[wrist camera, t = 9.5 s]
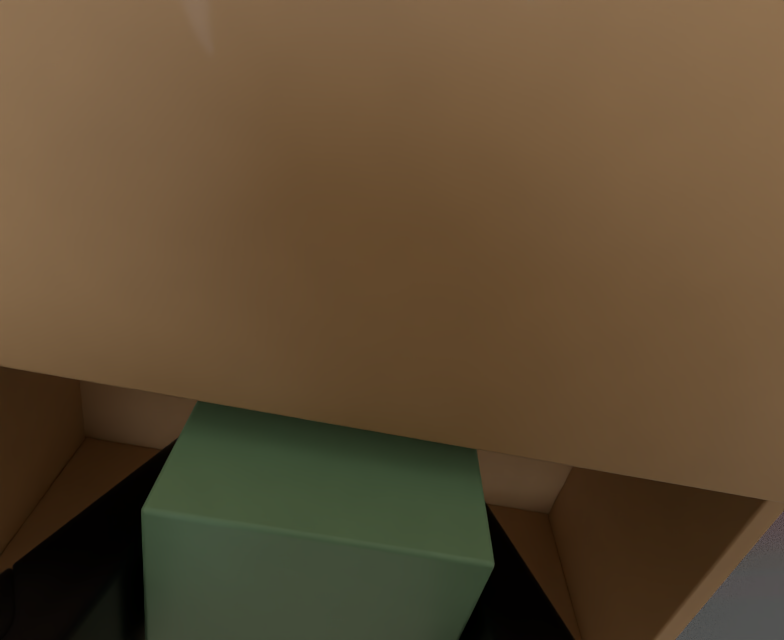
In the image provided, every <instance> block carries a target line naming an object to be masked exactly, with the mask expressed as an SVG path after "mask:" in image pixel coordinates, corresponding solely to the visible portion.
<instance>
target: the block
mask: <svg viewBox="0 0 784 640" xmlns="http://www.w3.org/2000/svg"><path fill="white" fill-rule="evenodd" d="M141 521H142V552H143V583H144V614H145V640H459V638H460V636H461V634H462V632H463V630H464V628H465V626H466V624H467V622H468V620H469V618H470V616H471V614H472V612H473V609H474V607H475V605H476V603H477V601H478V599H479V597H480V595H481V593H482V591H483V589H484V587H485V585H486V583H487V581H488V579H489V576H490V574H491V572H492V570H493V568H494V565H495V563H494V557H493V550H492V544H491V537H490V531H489V525H488V518H487V512H486V506H485V499H484V493H483V487H482V480H481V474H480V468H479V461H478V455H477V449H471V448H465V447H460V446H454V445H448V444H442V443H437V442H431V441H425V440H420V439H414V438H408V437H402V436H397V435H391V434H385V433H379V432H374V431H368V430H362V429H357V428H351V427H345V426H339V425H334V424H328V423H322V422H316V421H311V420H305V419H299V418H294V417H288V416H282V415H276V414H271V413H265V412H259V411H253V410H248V409H242V408H236V407H230V406H225V405H219V404H213V403H208V402H202V401H197V402H196V404H195V406H194V408H193V410H192V412H191V414H190V416H189V418H188V420H187V422H186V424H185V426H184V427H183V429H182V431H181V433H180V435H179V437H178V439H177V441H176V443H175V445H174V447H173V449H172V451H171V453H170V455H169V456H168V458H167V460H166V462H165V464H164V466H163V468H162V470H161V472H160V474H159V476H158V478H157V480H156V482H155V484H154V486H153V487H152V489H151V491H150V493H149V495H148V497H147V499H146V501H145V503H144V505H143V507H142V509H141Z"/></svg>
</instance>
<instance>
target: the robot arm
mask: <svg viewBox="0 0 784 640" xmlns="http://www.w3.org/2000/svg"><path fill="white" fill-rule="evenodd" d="M177 439H178V438H176V439H175V440H174V441H173V442H171V443H170V444H169V445H167V446H166V447H165V448H163V449H162V450H161V451H160V452H158V453H157V454H156V455H154V456H153V457H152V458H150V459H149V460H148V461H147V462H145V463H144V464H143V465H141V466H140V467H139V468H137V469H136V470H135V471H134V472H132V473H131V474H130V475H128V476H127V477H126V478H124V479H123V480H122V481H120V482H119V483H118V484H117V485H115V486H114V487H113V488H111V489H110V490H109V491H107V492H106V493H105V494H104V495H102V496H101V497H100V498H98V499H97V500H96V501H94V502H93V503H92V504H91V505H89V506H88V507H87V508H85V509H84V510H83V511H81V512H80V513H79V514H78V515H76V516H75V517H74V518H72V519H71V520H70V521H68V522H67V523H66V524H65V525H63V526H62V527H61V528H59V529H58V530H57V531H55V532H54V533H53V534H52V535H50V536H49V537H48V538H46V539H45V540H44V541H42V542H41V543H40V544H39V545H37V546H36V547H35V548H33V549H32V550H31V551H29V552H28V553H27V554H26V555H24V556H23V557H22V558H20V559H19V560H18V561H16V562H15V563H14V564H13V566H12V569H11V568H7V569H6V570H4V571H3V572H2V573H0V640H145V614H144V583H143V552H142V521H141V509H142V507H143V505H144V503H145V501H146V499H147V497H148V495H149V493H150V491H151V489H152V487H153V486H154V484H155V482H156V480H157V478H158V476H159V474H160V472H161V470H162V468H163V466H164V464H165V462H166V460H167V458H168V456H169V455H170V453H171V451H172V449H173V447H174V445H175V443H176V441H177ZM485 506H486V512H487V518H488V525H489V531H490V537H491V544H492V550H493V557H494V563H495V565H494V568H493V570H492V572H491V574H490V576H489V579H488V581H487V583H486V585H485V587H484V589H483V591H482V593H481V595H480V597H479V599H478V601H477V603H476V605H475V607H474V609H473V612H472V614H471V616H470V618H469V620H468V622H467V624H466V626H465V628H464V630H463V632H462V634H461V636H460V638H459V640H575V638H574V637H573V635H572V634H571V632H570V631H569V629H568V628H567V626H566V624H565V623H564V621H563V620H562V618H561V617H560V615H559V614H558V612H557V611H556V609H555V608H554V606H553V604H552V603H551V601H550V600H549V598H548V597H547V595H546V594H545V592H544V591H543V589H542V588H541V586H540V585H539V583H538V581H537V580H536V578H535V577H534V575H533V574H532V572H531V571H530V569H529V568H528V566H527V565H526V563H525V561H524V560H523V558H522V557H521V555H520V554H519V552H518V551H517V549H516V548H515V546H514V545H513V543H512V542H511V540H510V538H509V537H508V535H507V534H506V532H505V531H504V529H503V528H502V526H501V525H500V523H499V522H498V520H497V518H496V517H495V515H494V514H493V512H492V511H491V509H490V508H489V506H488V505H487V503H486V502H485Z"/></svg>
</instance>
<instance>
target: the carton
mask: <svg viewBox="0 0 784 640" xmlns="http://www.w3.org/2000/svg"><path fill="white" fill-rule="evenodd" d="M197 401H202V402H208V403H213V404H219V405H225V406H230V407H236V408H242V409H248V410H253V411H259V412H265V413H271V414H276V415H282V416H288V417H294V418H299V419H305V420H311V421H316V422H322V423H328V424H334V425H339V426H345V427H351V428H357V429H362V430H368V431H374V432H379V433H385V434H391V435H397V436H402V437H408V438H414V439H420V440H425V441H431V442H437V443H442V444H448V445H454V446H460V447H465V448H471V449H477V455H478V461H479V468H480V474H481V480H482V487H483V493H484V499H485V502H486V503H487V505H488V506H489V508H490V509H491V511H492V512H493V514H494V515H495V517H496V518H497V520H498V522H499V523H500V525H501V526H502V528H503V529H504V531H505V532H506V534H507V535H508V537H509V538H510V540H511V542H512V543H513V545H514V546H515V548H516V549H517V551H518V552H519V554H520V555H521V557H522V558H523V560H524V561H525V563H526V565H527V566H528V568H529V569H530V571H531V572H532V574H533V575H534V577H535V578H536V580H537V581H538V583H539V585H540V586H541V588H542V589H543V591H544V592H545V594H546V595H547V597H548V598H549V600H550V601H551V603H552V604H553V606H554V608H555V609H556V611H557V612H558V614H559V615H560V617H561V618H562V620H563V621H564V623H565V624H566V626H567V628H568V629H569V631H570V632H571V634H572V635H573V637H574V638H575V640H675V639H676V638H677V637H678V636H679V634H680V633H681V632H682V631H683V630H684V628H685V627H686V626H687V625H688V624H689V622H690V621H691V620H692V619H693V618H694V617H695V615H696V614H697V613H698V612H699V611H700V609H701V608H702V607H703V606H704V605H705V603H706V602H707V601H708V600H709V599H710V597H711V596H712V595H713V594H714V593H715V592H716V590H717V589H718V588H719V587H720V586H721V584H722V583H723V582H724V581H725V580H726V578H727V577H728V576H729V575H730V574H731V572H732V571H733V570H734V569H735V568H736V567H737V565H738V564H739V563H740V562H741V561H742V559H743V558H744V557H745V556H746V555H747V553H748V552H749V551H750V550H751V549H752V548H753V546H754V545H755V544H756V543H757V542H758V540H759V539H760V538H761V537H762V536H763V534H764V533H765V532H766V531H767V530H768V528H769V527H770V526H771V525H772V524H773V523H774V521H775V520H776V519H777V518H778V517H779V515H780V514H781V513H782V512H783V511H784V0H0V573H2V572H3V571H4V570H6V569H7V568H11V569H12V566H13V564H14V563H15V562H16V561H18V560H19V559H20V558H22V557H23V556H24V555H26V554H27V553H28V552H29V551H31V550H32V549H33V548H35V547H36V546H37V545H39V544H40V543H41V542H42V541H44V540H45V539H46V538H48V537H49V536H50V535H52V534H53V533H54V532H55V531H57V530H58V529H59V528H61V527H62V526H63V525H65V524H66V523H67V522H68V521H70V520H71V519H72V518H74V517H75V516H76V515H78V514H79V513H80V512H81V511H83V510H84V509H85V508H87V507H88V506H89V505H91V504H92V503H93V502H94V501H96V500H97V499H98V498H100V497H101V496H102V495H104V494H105V493H106V492H107V491H109V490H110V489H111V488H113V487H114V486H115V485H117V484H118V483H119V482H120V481H122V480H123V479H124V478H126V477H127V476H128V475H130V474H131V473H132V472H134V471H135V470H136V469H137V468H139V467H140V466H141V465H143V464H144V463H145V462H147V461H148V460H149V459H150V458H152V457H153V456H154V455H156V454H157V453H158V452H160V451H161V450H162V449H163V448H165V447H166V446H167V445H169V444H170V443H171V442H173V441H174V440H175V439H176V438H178V437H179V435H180V433H181V431H182V429H183V427H184V426H185V424H186V422H187V420H188V418H189V416H190V414H191V412H192V410H193V408H194V406H195V404H196V402H197Z"/></svg>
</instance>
